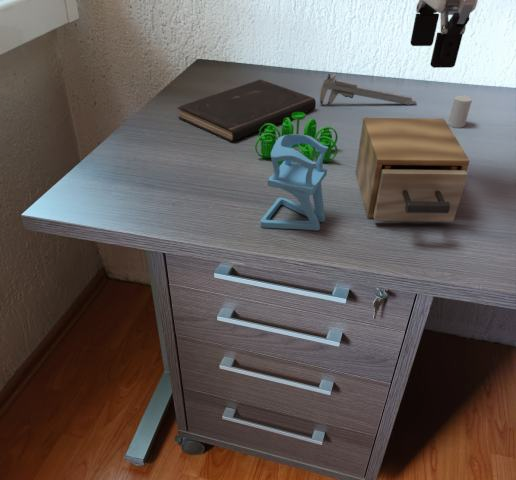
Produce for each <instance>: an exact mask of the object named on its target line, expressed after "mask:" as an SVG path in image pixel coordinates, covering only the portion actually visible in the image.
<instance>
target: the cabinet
mask: <svg viewBox="0 0 516 480" xmlns="http://www.w3.org/2000/svg"><path fill="white" fill-rule="evenodd" d="M470 161H471V160H470V158H469V157H468V155H467V154H466V152H465V150H464V148H463V147H462V146H461V144H460V143H459V141H458V139H457V137H456V136H455V134H454V132H453V130H452V129H451V128H450V126H449V125H448V122H447V121H446V120H445V118H432V117H431V118H429V117H428V118H425V117H423V118H422V117H421V118H420V117H419V118H417V117H413V118H412V117H363V119H362V125H361V132H360V139H359V145H358V152H357V159H356V165H355V166H356V167H355V176H356V180H357V184H358V187H359V191H360V194H361V199H362V203H363V206H364V210H365V215H366V217H367V219H374V217H373V216H374V210H375V205H376V204H375V202H376V196H377V191H378V185H379V180H380V174H381V168H382V165H435V166H457V170H465V171H466V172H467V171H468V167H469V164H470Z"/></svg>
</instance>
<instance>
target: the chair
mask: <svg viewBox="0 0 516 480" xmlns="http://www.w3.org/2000/svg"><path fill="white" fill-rule="evenodd" d="M277 138H278V140H277V139H276V143H275V145H274V147H273V149H272V151H271V163H272V166H273V174H271V176H269V178H268V179H267V187H271V188H276V189H280V190H282V191H284V192H287V193H289V194H291V195H292V196H294V198H296V200H297V201H298V203H297V202H295V201H293V200H290V199H288V198H285V197H282V196H280V197H278V198H277V199H275V201H274V203H273V204H272V205H271V206H270V208H269V209H268V211H267V212H266V213H265V214H264V216H263V217H262V218H261V219H260V227H261V228H266V229H288V230H306V231H320V230H321V229H320V228H321V224H320V223H324V222H326V213H325V212H326V211H325V207H324V199H323V188H322V182H323V180H325V177H326V176H327V173H328V168H324V167H323V163H324V162H323V158H324V155H325V153H326V151H327V149H328V147H327V146H324V145H322V144H321V143H319V140H318V141H317V139H316V140H315V139H314V138H312V137H310V136H307V135H304V134H299V133H298V134H296V133H293V135H284V136H281V137H279V136H278V137H277ZM301 143H304V144H308V145H311V146H312V148H313V147H314V148H315V150H316V151H319V152H320V155H319V157H318V158H317V160H316V161H314V160H313V161H311V160H309V159H308V158H307V157H305V156H304V155H303V154H301V151H298V150H297V149H295V148H293V147H292V148H290V147H291V146H293V145H296V144H301ZM283 160H285V161H284V162H283V163H282V164H281V165H280V167H279V166H278V163H277V162H279V161H283ZM301 164H302V165H301ZM311 196H312V199H313V206H314V209H313V206H312V202H311V200H310V197H311ZM280 206H284V207H286V208H288V209H290V210H292V211H294V212H296V213H299V214H300V215H303V216H304V217H307V219H308V220H291V219H289V220H286V219H285V220H284V219H283V220H282V219H271V218H272V217H273V216H274V215H275V213H276V212H277V210H278V209H279V208H280Z"/></svg>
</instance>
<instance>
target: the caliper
mask: <svg viewBox="0 0 516 480" xmlns="http://www.w3.org/2000/svg"><path fill="white" fill-rule="evenodd" d="M336 76H337V75H336V73H333V74H332V75H331V73H330V72H328V73H327V76H326V77H323V79H322V83H321V86H320V91H319V104H320V105H323V104H324V101H325V97H326V96H327V93H328V90H330V94H329V97H328V101H327V106H328V107H330V106H331V105H332V104H333V103H334V101H335V99H336V98H337V96H338V95H341V96H343V97H344V98H350V99H353V98H354V96H359V97H365V98H369V99H376V100H381V101H387V102H391V103H396V104H400V105H405V106H410V105H411V104H414V105H416V104H418V103H417V101H416V100H415V99H413V97H412V96H410V95H404V94H399V93H396V92H395V93H394V92H389V91H386V90H385V91H384V90H379V89H373V88H369V87H363V86H358V84H357V83H355V82H351V81H346V80H341V79H336Z"/></svg>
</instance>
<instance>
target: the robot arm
mask: <svg viewBox="0 0 516 480" xmlns="http://www.w3.org/2000/svg"><path fill="white" fill-rule="evenodd" d="M478 2H479V1H478V0H418V3H417V5H416V10H415V11H416V12H415V16H414V22H413V28H412V32H411V38H410V45H411V46H412V47H431V46H433V44H434V46H433V50H432V53H431V54H432V55H431V59H430V64H429V65H430V66H431V67H432V69H433V68H434V69H435V68H436V69H438V68H440V69H442V68H443V69H445V68H447V69H449V68H451V69H452V68H454V67H455V66H456V62H457V59H458V56H459V55H458V54H459V51H460V46H461V43H462V39H463V35H464V34H465V32H466V27H467V24H468V22H469V21H470V15H471V13H473V11H475V9H476V7H477V5H478ZM449 16H451V17H450V19H449ZM439 17H440V18H439ZM439 19H440V32H436V31H437V27H438V22H439ZM435 35H436V36H435ZM434 41H435V42H434Z"/></svg>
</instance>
